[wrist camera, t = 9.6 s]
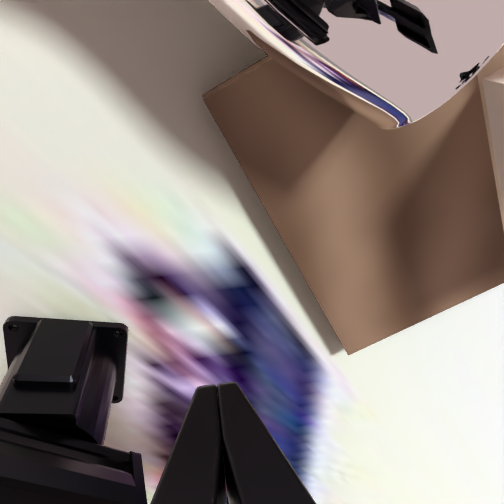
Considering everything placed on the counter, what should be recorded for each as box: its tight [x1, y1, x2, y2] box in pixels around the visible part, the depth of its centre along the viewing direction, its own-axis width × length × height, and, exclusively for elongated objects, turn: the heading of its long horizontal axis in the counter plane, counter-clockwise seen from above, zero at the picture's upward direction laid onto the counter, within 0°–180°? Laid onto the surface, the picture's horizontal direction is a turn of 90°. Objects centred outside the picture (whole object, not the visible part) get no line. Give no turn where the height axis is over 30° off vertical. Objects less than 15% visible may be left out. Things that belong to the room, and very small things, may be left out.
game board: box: [203, 45, 504, 355], centre depth 19 cm, size 20×18×3 cm
